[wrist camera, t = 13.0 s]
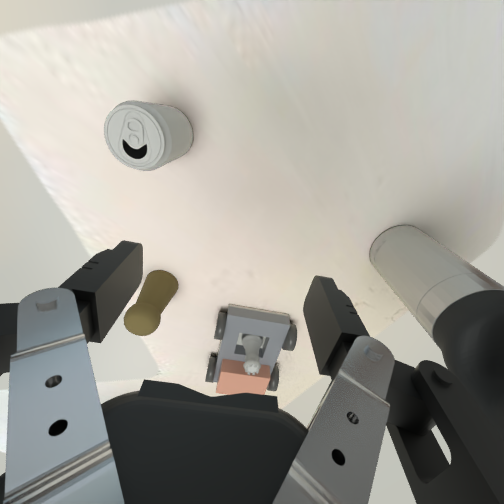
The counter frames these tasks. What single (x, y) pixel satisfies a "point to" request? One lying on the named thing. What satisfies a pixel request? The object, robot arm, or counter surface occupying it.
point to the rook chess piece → (252, 352)
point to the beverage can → (147, 134)
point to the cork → (151, 303)
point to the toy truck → (233, 353)
